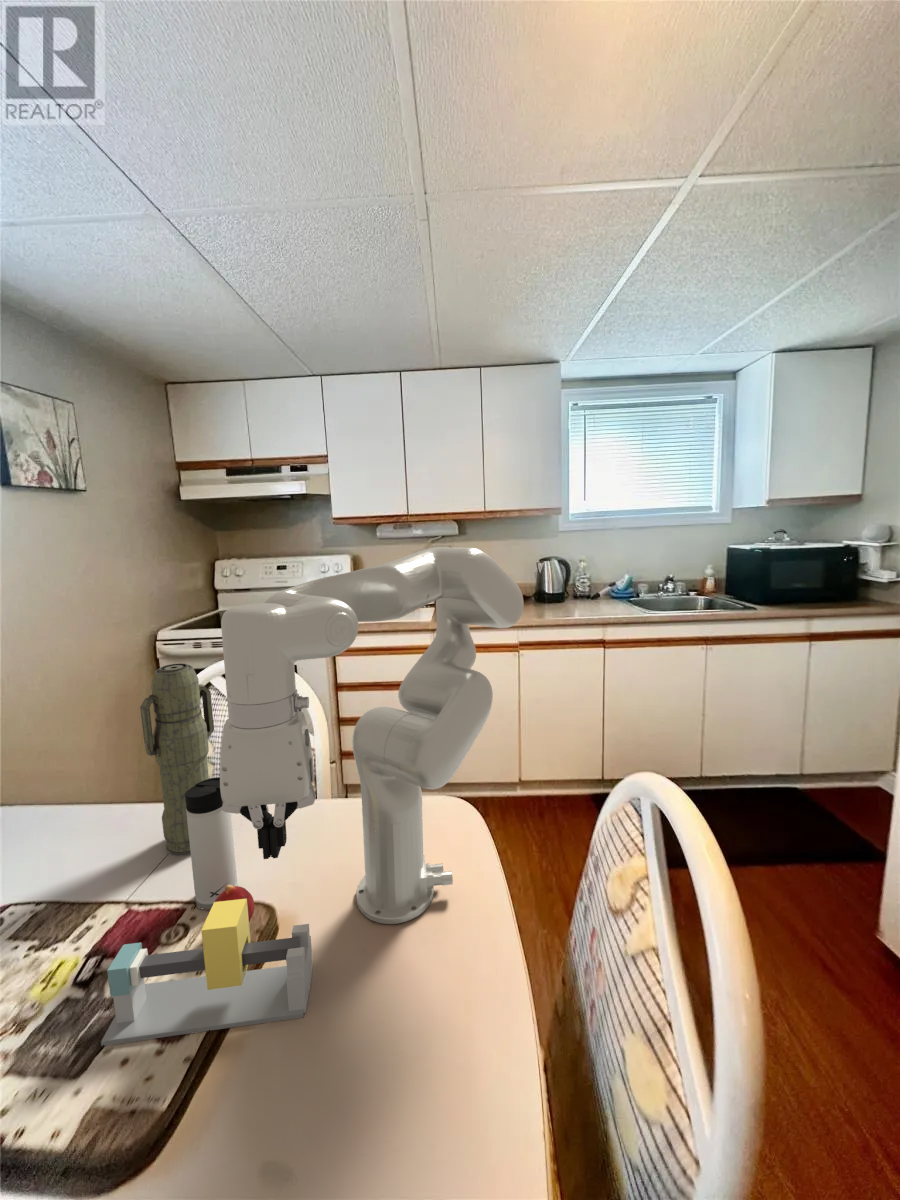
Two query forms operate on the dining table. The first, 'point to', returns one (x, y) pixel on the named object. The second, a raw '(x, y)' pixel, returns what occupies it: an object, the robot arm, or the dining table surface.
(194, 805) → the travel mug
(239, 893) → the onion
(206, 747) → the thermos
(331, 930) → the dining table surface
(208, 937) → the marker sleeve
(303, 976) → the grey long frame
